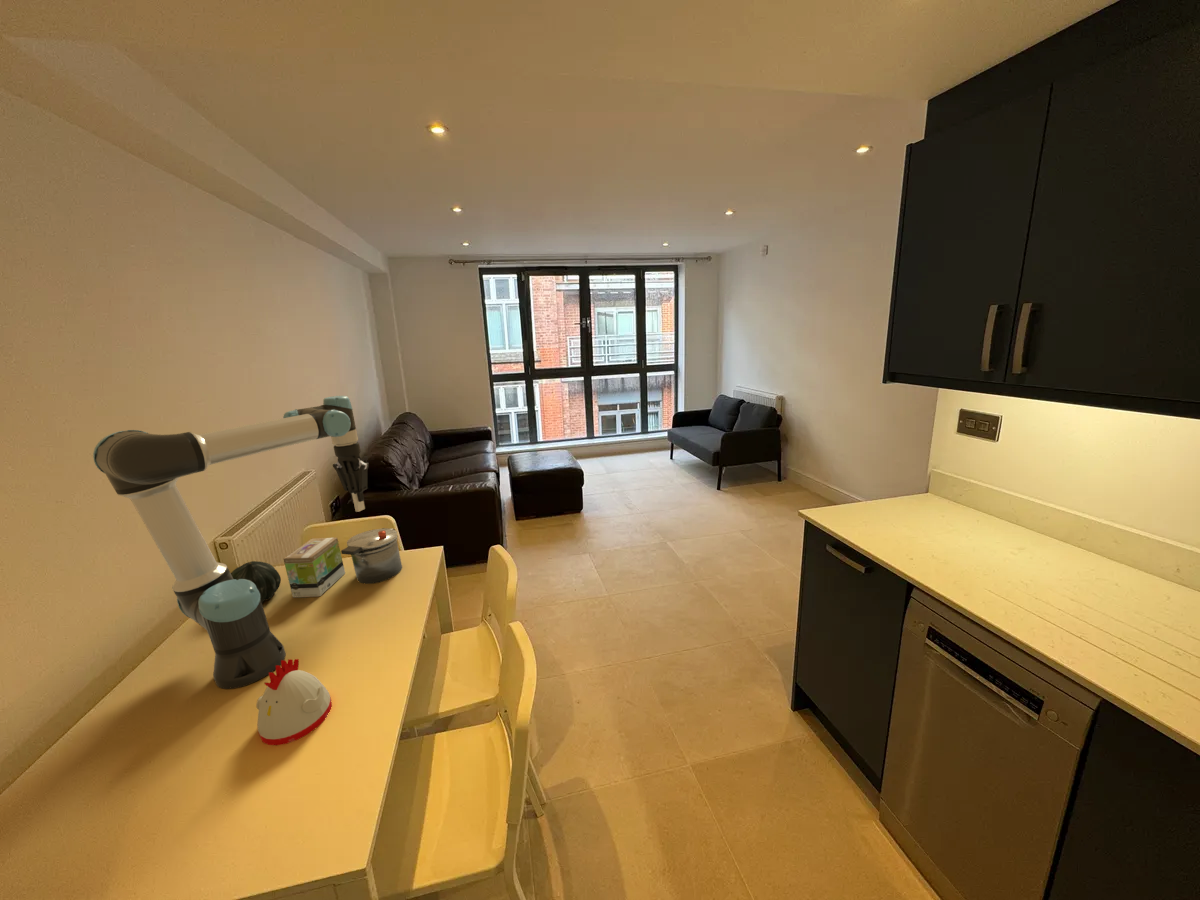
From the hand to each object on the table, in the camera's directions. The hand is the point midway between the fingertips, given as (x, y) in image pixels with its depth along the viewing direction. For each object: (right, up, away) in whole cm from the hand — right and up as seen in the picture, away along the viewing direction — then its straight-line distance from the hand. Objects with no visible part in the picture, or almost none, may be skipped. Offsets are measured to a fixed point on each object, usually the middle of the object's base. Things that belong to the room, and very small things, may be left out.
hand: (360, 509), depth 157 cm
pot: (+2, -24, +9) cm, 25 cm away
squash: (-33, -30, -3) cm, 44 cm away
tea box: (-15, -27, +3) cm, 31 cm away
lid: (+1, -12, +4) cm, 13 cm away
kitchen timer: (+13, -41, -53) cm, 68 cm away
